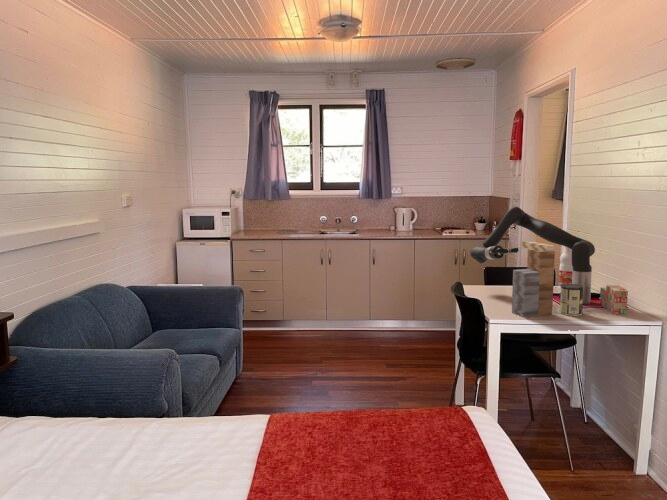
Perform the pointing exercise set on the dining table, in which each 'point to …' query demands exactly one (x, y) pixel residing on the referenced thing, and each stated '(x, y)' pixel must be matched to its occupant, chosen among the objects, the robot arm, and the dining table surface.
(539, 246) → the birch bar
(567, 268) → the fruit juice
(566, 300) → the coffee can
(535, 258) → the stepped stand
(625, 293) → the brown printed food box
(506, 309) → the dining table surface
